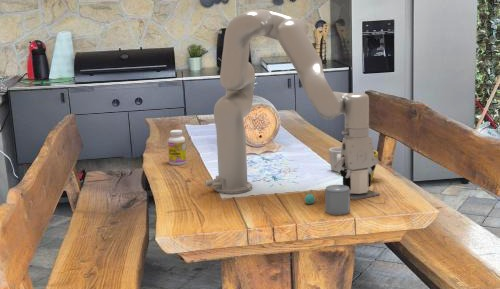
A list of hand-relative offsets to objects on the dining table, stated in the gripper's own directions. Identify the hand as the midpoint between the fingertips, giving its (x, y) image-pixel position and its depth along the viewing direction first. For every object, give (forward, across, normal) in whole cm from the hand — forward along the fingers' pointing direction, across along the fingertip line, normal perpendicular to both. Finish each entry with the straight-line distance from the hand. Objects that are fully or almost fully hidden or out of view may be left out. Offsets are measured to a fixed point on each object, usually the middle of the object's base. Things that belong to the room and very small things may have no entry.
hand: (356, 187), depth 230 cm
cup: (+3, +11, +27) cm, 29 cm away
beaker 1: (+2, -15, -12) cm, 19 cm away
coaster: (+2, 0, 0) cm, 2 cm away
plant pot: (+3, +11, +13) cm, 17 cm away
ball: (+2, -18, -1) cm, 18 cm away
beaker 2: (+1, 0, 0) cm, 1 cm away
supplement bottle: (+3, -34, +72) cm, 80 cm away
